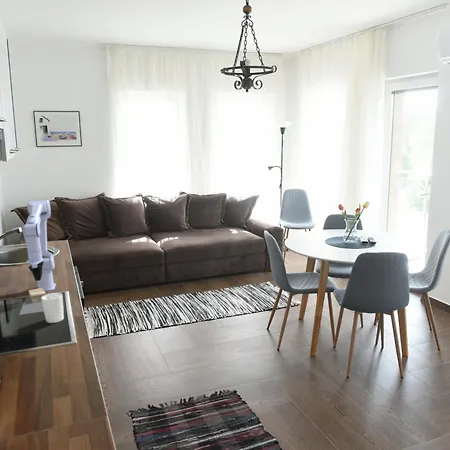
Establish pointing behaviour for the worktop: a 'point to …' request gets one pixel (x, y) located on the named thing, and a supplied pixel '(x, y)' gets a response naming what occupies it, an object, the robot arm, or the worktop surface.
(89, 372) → the worktop surface
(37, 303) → the rubber mat
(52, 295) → the white cup
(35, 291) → the birch slab
